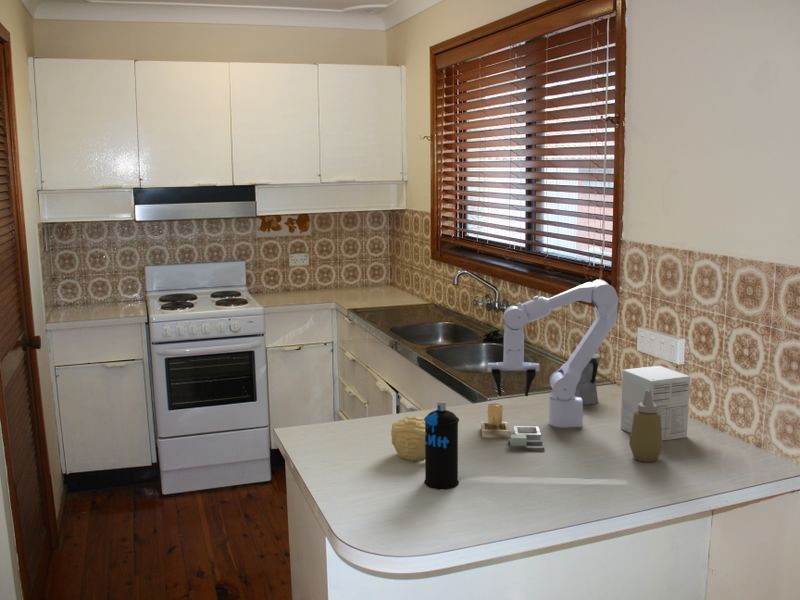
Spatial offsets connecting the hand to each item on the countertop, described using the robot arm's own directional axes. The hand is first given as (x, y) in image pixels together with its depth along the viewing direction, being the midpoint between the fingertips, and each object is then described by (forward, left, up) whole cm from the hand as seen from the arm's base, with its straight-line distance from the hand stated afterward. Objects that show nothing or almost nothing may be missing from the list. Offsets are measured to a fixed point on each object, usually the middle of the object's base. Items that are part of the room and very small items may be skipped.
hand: (512, 394), depth 225 cm
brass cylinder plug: (+6, +9, -8) cm, 14 cm away
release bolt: (0, +20, -8) cm, 22 cm away
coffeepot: (-25, -25, -10) cm, 37 cm away
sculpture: (+27, +25, -10) cm, 38 cm away
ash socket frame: (+6, +9, -8) cm, 13 cm away
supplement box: (-39, +4, -10) cm, 40 cm away
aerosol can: (+20, +42, -10) cm, 47 cm away
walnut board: (+2, +14, -9) cm, 17 cm away
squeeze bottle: (-32, +24, -10) cm, 41 cm away
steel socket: (-3, +12, -8) cm, 15 cm away
